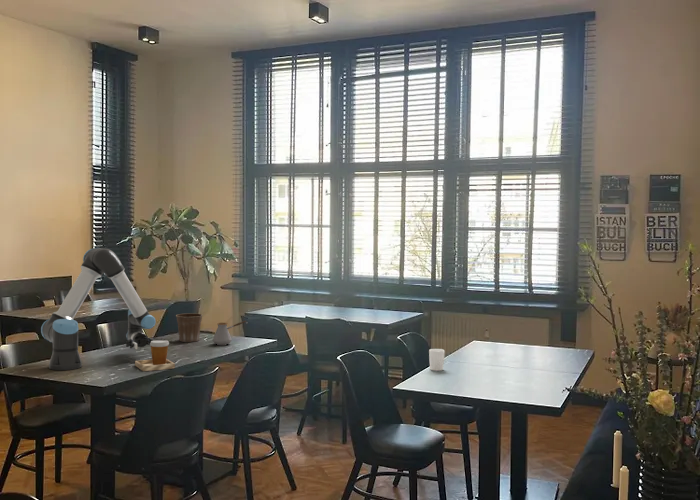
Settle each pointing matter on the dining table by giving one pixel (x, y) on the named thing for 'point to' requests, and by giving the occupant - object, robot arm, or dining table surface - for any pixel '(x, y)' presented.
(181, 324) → the plant pot
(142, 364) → the oak tray
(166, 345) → the disposable coffee cup
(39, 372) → the dining table surface
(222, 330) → the coffee pot
